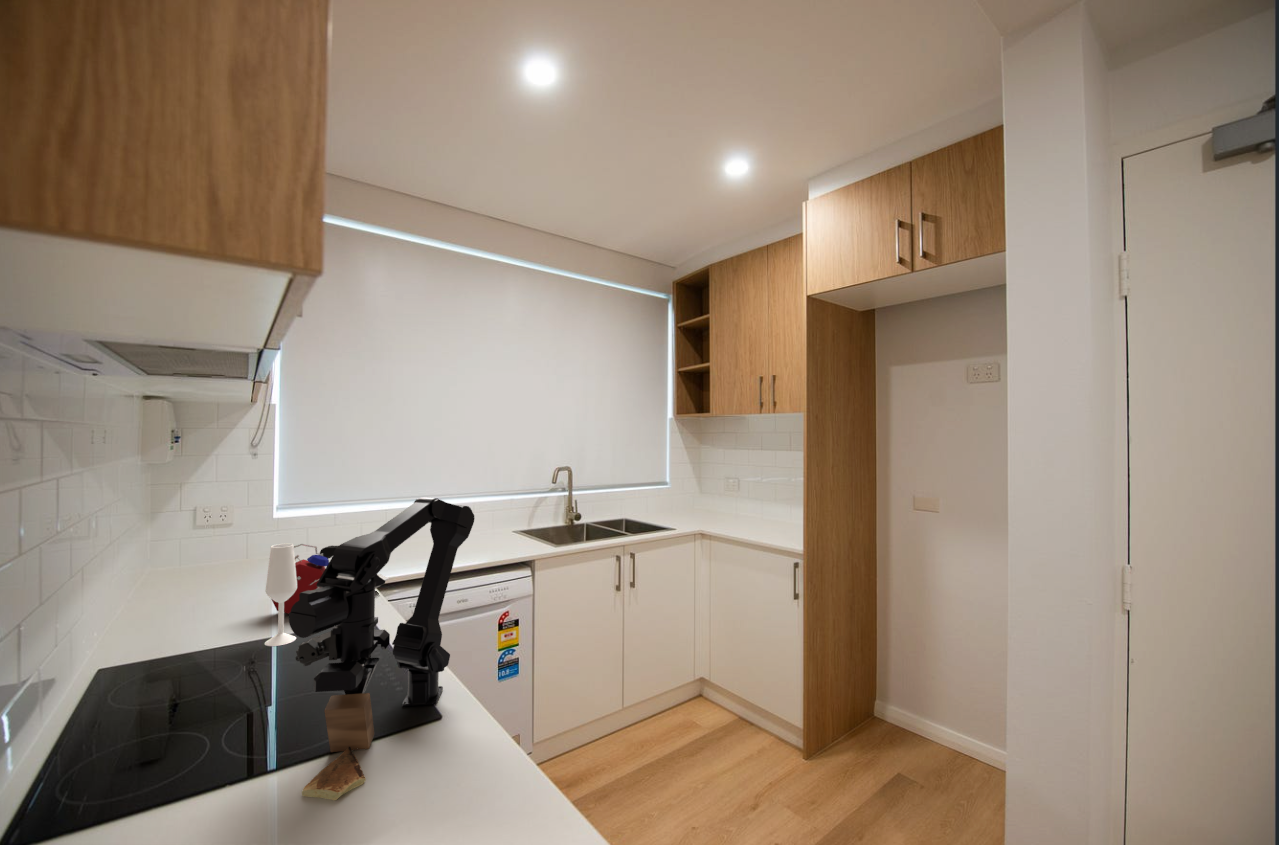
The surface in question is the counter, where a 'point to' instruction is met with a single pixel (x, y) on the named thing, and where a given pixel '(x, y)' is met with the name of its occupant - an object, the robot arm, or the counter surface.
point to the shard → (336, 778)
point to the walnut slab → (349, 722)
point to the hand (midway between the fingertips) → (354, 707)
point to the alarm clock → (305, 577)
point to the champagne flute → (281, 586)
